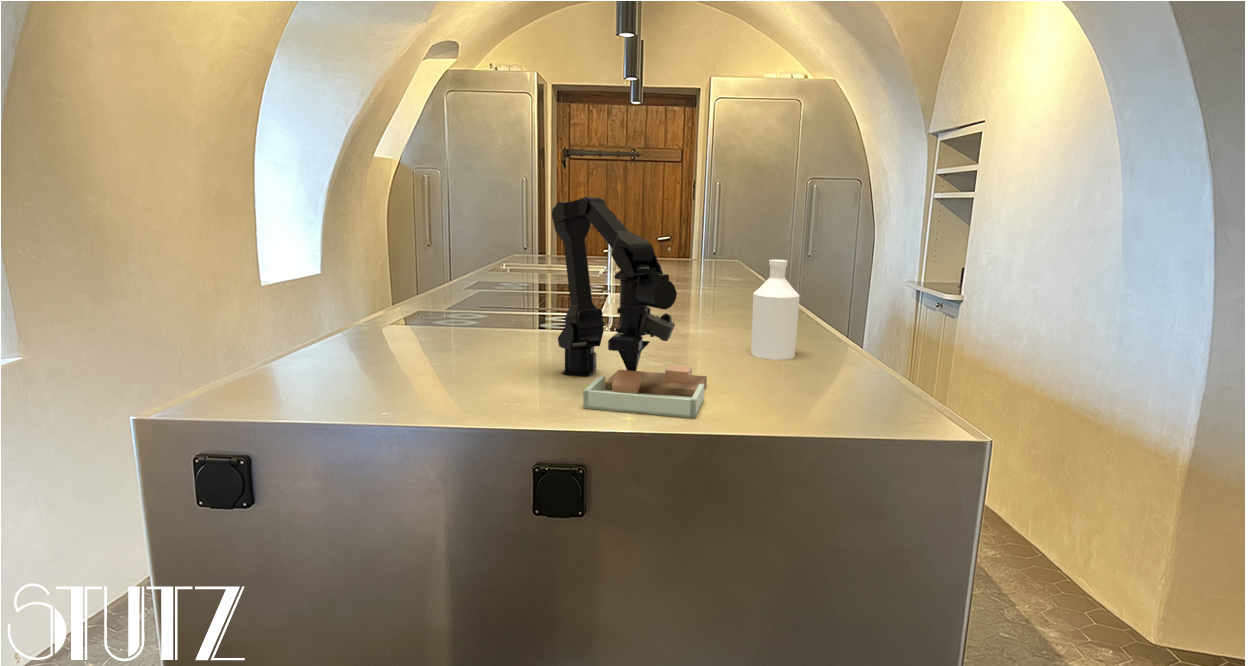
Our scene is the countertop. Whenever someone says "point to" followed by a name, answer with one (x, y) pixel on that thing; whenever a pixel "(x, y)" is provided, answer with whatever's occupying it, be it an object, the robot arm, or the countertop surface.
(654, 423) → the countertop surface
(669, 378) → the right tile
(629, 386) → the left tile
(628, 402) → the sage tray
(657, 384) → the walnut board
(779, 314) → the bottle
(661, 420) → the countertop surface
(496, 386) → the countertop surface
